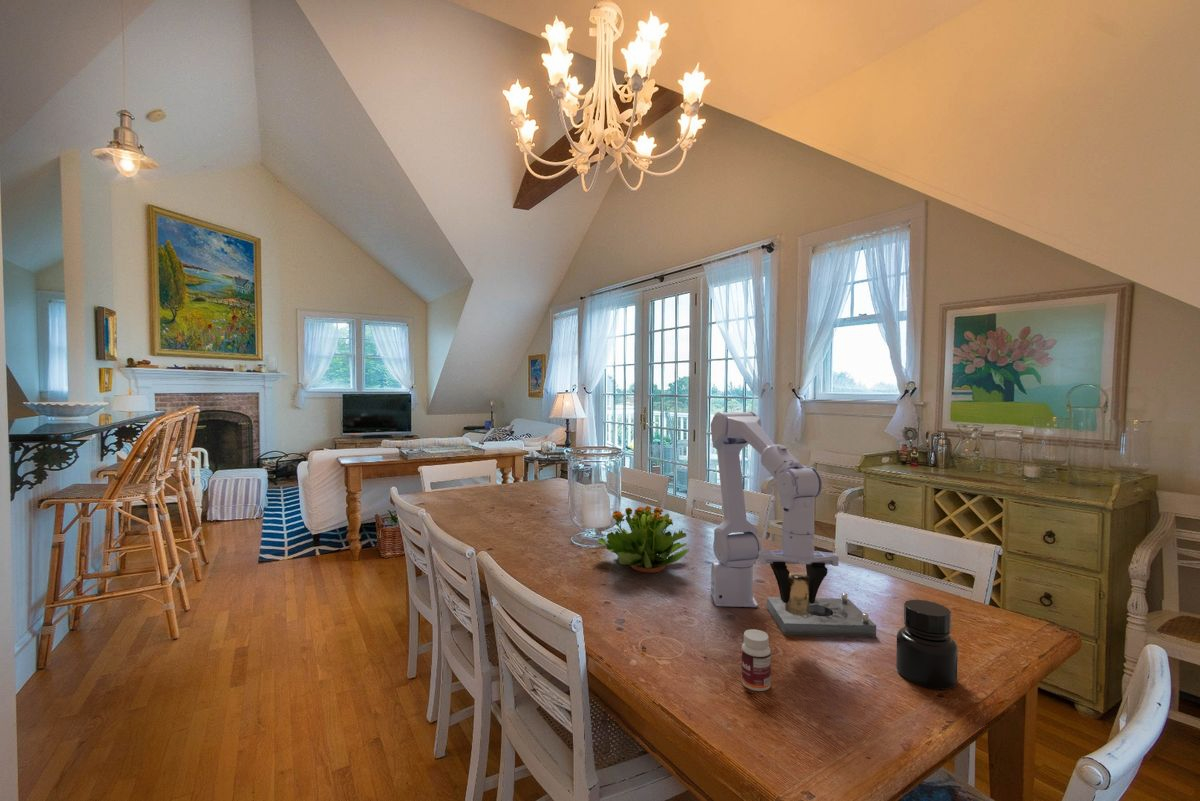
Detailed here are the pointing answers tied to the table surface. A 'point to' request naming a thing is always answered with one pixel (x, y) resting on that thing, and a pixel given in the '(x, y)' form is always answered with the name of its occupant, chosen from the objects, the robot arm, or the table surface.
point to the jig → (823, 619)
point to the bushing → (798, 594)
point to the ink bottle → (927, 646)
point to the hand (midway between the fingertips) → (797, 601)
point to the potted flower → (645, 540)
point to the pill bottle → (756, 660)
